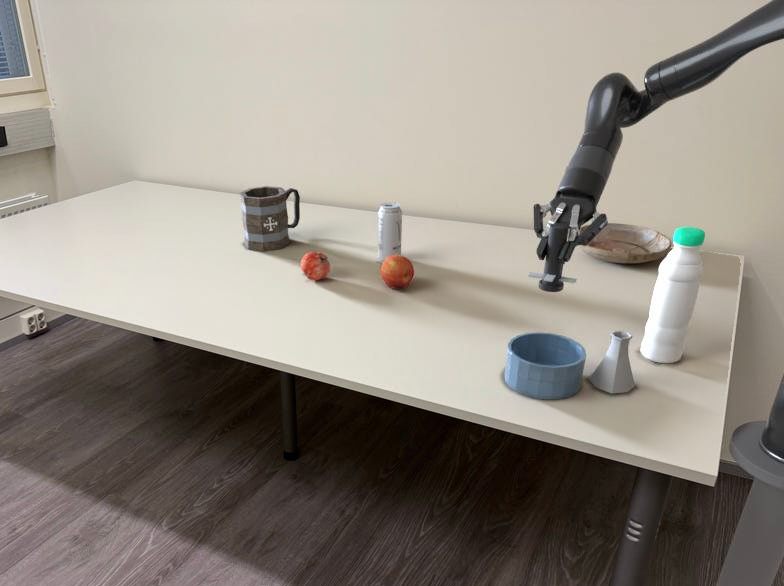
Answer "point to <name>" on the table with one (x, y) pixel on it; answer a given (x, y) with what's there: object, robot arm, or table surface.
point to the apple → (397, 271)
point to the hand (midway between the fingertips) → (550, 259)
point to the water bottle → (674, 298)
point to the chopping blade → (554, 260)
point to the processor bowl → (544, 365)
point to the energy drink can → (389, 230)
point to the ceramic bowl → (627, 244)
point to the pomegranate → (315, 265)
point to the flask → (615, 366)
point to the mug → (267, 217)
